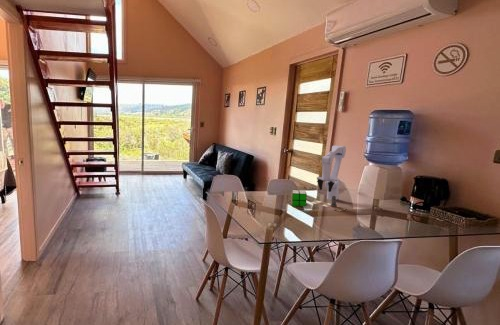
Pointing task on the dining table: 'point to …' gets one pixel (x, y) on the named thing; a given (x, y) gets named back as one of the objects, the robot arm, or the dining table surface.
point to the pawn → (333, 202)
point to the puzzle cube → (298, 198)
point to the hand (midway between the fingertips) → (325, 190)
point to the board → (329, 205)
